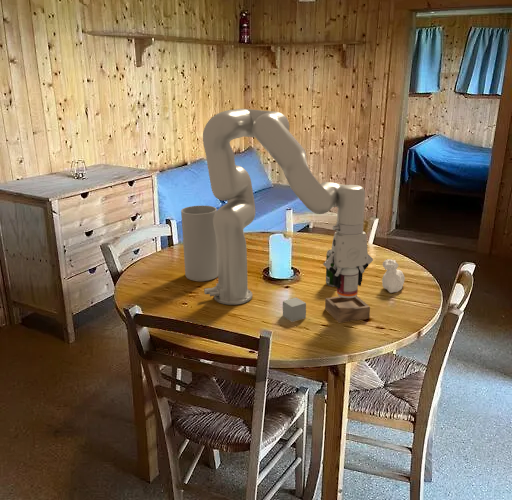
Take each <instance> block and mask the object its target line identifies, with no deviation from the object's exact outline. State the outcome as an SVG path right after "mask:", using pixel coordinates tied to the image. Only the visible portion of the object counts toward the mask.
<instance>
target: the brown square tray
mask: <svg viewBox="0 0 512 500" xmlns="http://www.w3.org/2000/svg"><path fill="white" fill-rule="evenodd" d="M324 299H325V300H324V301H325V302H324V303H325V305H324V309H325V311H326V312H327V313H328V314H329V315H330V316H332V318H333V319H334V320H336V322H337V323H339V324H341V323H346V322H355V321H359V320H360V321H361V320H368V319H370V313H371V312H370V311H371V307H370V306H369V304H367V303H366V302H365V301H363V299H361V298H360V297H359V296H358V295H357V296H356V297H354V298H343V297H340V296H338V295H337V296H333V297H326V298H324Z"/></svg>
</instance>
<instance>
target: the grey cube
mask: <svg viewBox="0 0 512 500" xmlns="http://www.w3.org/2000/svg"><path fill="white" fill-rule="evenodd" d="M282 317H284V318H285V319H287V320H289V321H290V322H291V323H294V322H298V321H300V320H304V319H306V318H307V303H306V302H305V301H304V300H302V299H300V298H298V297H292V298H290V299H286V300H282Z"/></svg>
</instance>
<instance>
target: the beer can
mask: <svg viewBox="0 0 512 500" xmlns="http://www.w3.org/2000/svg"><path fill="white" fill-rule="evenodd" d="M330 256H331V249H328V250H327V251H326V259H325V261H326V260H327V259H328V258H329V257H330ZM330 265H331V267H333V266H334V264H333V263H331V264H330ZM325 283H326V285H327V287H332V288H333V287H334V288H336V287H335V286H334V285H333V273H332V272H331V271H330V270H328V269H327V268H326V267H325Z"/></svg>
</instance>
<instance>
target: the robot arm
mask: <svg viewBox="0 0 512 500" xmlns="http://www.w3.org/2000/svg"><path fill="white" fill-rule="evenodd" d="M243 137H247V138H255V139H256V140H257V142H258V143H259V144H260V145H261V146H262V147H263V149H265V150H266V152H267V153H268V154H269V155H270V156H271V157H272V159H273V160H274V161H275V162H276V163H277V165H278V166H279V167H280V169H281V170H282V172H283V175H284V177H285V179H286V181H287V182H288V185H289V187H290V188H291V190H292V192H293V193H294V195H295V196H296V197H297V198H298V199H299V200H300V202H301V203H302V204H303V206H305V207H306V208H307V209H308V210H309V211H310V212H312V213H314V214H316V215H323V214H326V213H328V212H329V211H331V209H333V208H337V213H336V216H337V218H336V223H335V225H333V226H332V230H333V231H335V232H334V234H333V238H332V242H331V249H330V250H331V256H330V257H329V258H328V259H327V260H326V259H325V261H324V262H323V264H322V265H323V266H324V267H325V269H326V268H327V269H328V270H330V271H331V272H332V273H333V285H334V286H335V287H334V288H336V289H337V288H338V289H339V288H340V281H341V277H340V276H339V274H340V271H341V269H342V268H349V267H357V268H358V270H359V274H358V287H359V286H362V282H363V273H365V271H366V269H367V268H368V267H369V265H370V264H371V263H372V262H373V261H374V259H373V258H372V256H371V255H370V254H369V253H368V252H369V250H368V239H367V233H366V232H365V231H364V220H365V219H364V218H365V217H364V216H365V201H366V191H365V188H364V187H363V186H361V185H358V184H341V183H336V182H333V181H332V182H330V181H325V182H321V183H320V182H319V181H318V180H317V178H316V177H315V176H314V174H313V172H312V170H310V167H309V165H308V161H307V159H308V158H307V152H306V149H305V148H304V147H303V145H302V144H301V143H300V142H299V141H298V140H297V139H296V138H295V137H294V135H293V134H292V132H291V131H290V121H289V120H288V118H287V116H286V115H284V113H281V112H279V111H275V110H273V111H272V110H271V111H270V110H261V109H251V108H250V109H249V108H236V109H229V110H224V111H221V112H219V113H218V112H217V114H215V115H213V116H212V117H210V119H209V120H208V121H207V122H206V124H205V125H204V128H203V131H202V144H203V147H204V153H205V157H206V158H205V159H206V164H207V165H206V166H207V170H208V177H209V181H210V182H209V183H210V187H211V192H212V195H213V196H214V197H215V198H216V199H218V200H220V201H224V202H225V201H226V202H227V203H225V204H223V205H222V206H220V207H219V208H218V209H217V212H216V213H215V215H214V218H213V226H214V231H215V236H216V244H217V261H218V277H217V279H218V280H217V281H218V283H217V282H216V284H215V285H216V286H213V287H207V288H204V291H203V292H204V295H209V296H210V297H214V300H215V301H216V302H217V303H219V304H222V305H229V306H235V305H237V306H238V305H241V304H245V303H247V302H250V301H251V300H252V299H253V292H252V291H251V290H250V289H249V288H248V285H249V284H248V257H247V256H248V254H247V253H248V252H247V249H248V248H247V241H246V237H245V232H244V229H245V228H247V227H248V226H250V225H251V223H252V222H253V221H254V219H255V217H256V204H255V197H254V191H253V183H252V179H251V177H250V174H249V172H248V171H247V170H246V169H245V168H244V167H243V166H241V165H236V161H235V160H236V159H235V154H234V151H233V150H234V149H233V148H232V146H231V142H232V141H233V140H236V139H240V138H243ZM331 263H333V264H334V266H333V267H331V265H330V264H331Z"/></svg>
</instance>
